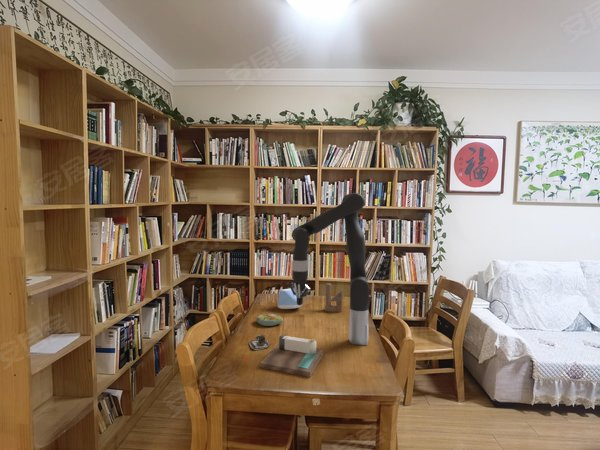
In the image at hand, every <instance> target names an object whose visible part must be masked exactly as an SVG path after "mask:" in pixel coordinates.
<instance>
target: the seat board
mask: <svg viewBox="0 0 600 450" xmlns="http://www.w3.org/2000/svg"><path fill="white" fill-rule="evenodd" d="M266 355H267V356H266V357H264V359H262V361H261V362H260V364H259V365H260V366H259V368H261V369H266V370H270V371H271V370H272V371H277V372H283V373H287V374H292V375H297V376H302V377H303V376H304V377H308V378H311V377H312V375H313V373H314V371H315V370H316V368H317V366H318V365H319V363H320V361H321V359H322V358H323V356H324V350H323V349H317V348H316V354H309V353H303V352H297V351H291V350H282V349H280V348H279V343H278V344H277V345H276V346H275V347H274V348H273V349H272V350H271V351H270V352H269V353H268V354H266Z"/></svg>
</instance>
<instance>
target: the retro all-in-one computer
mask: <svg viewBox="0 0 600 450" xmlns="http://www.w3.org/2000/svg"><path fill="white" fill-rule="evenodd" d="M294 291H295V290H294ZM277 301H278V302H277V308H279V309H281V310H293V309H294V310H295V309H298V308H300V307H302V306H303V304H302V305H297V297H296V295H293V292H292V290H291V288H290V287H289V288H285V289H280V290H279V294H278V299H277Z"/></svg>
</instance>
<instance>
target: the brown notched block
mask: <svg viewBox="0 0 600 450" xmlns="http://www.w3.org/2000/svg"><path fill="white" fill-rule="evenodd" d="M332 302H336V303H335V305H334V304H332ZM324 311H325V312H331V313H333V312H334V313H342V312H343V289H341V290H340V291H339V292H338V293H336V294H335V295H334V296H333V297H332V284H331V283H330V282H329V283H325V307H324Z"/></svg>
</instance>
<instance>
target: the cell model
mask: <svg viewBox="0 0 600 450" xmlns="http://www.w3.org/2000/svg"><path fill="white" fill-rule="evenodd" d="M256 322H257V324H259V325H261V326H265V327H274V326H277V325H280V324H282V323H283V322H284V319H283V317H281V315H279V314H272V313H265V314H260V315H258V316H256Z"/></svg>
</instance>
